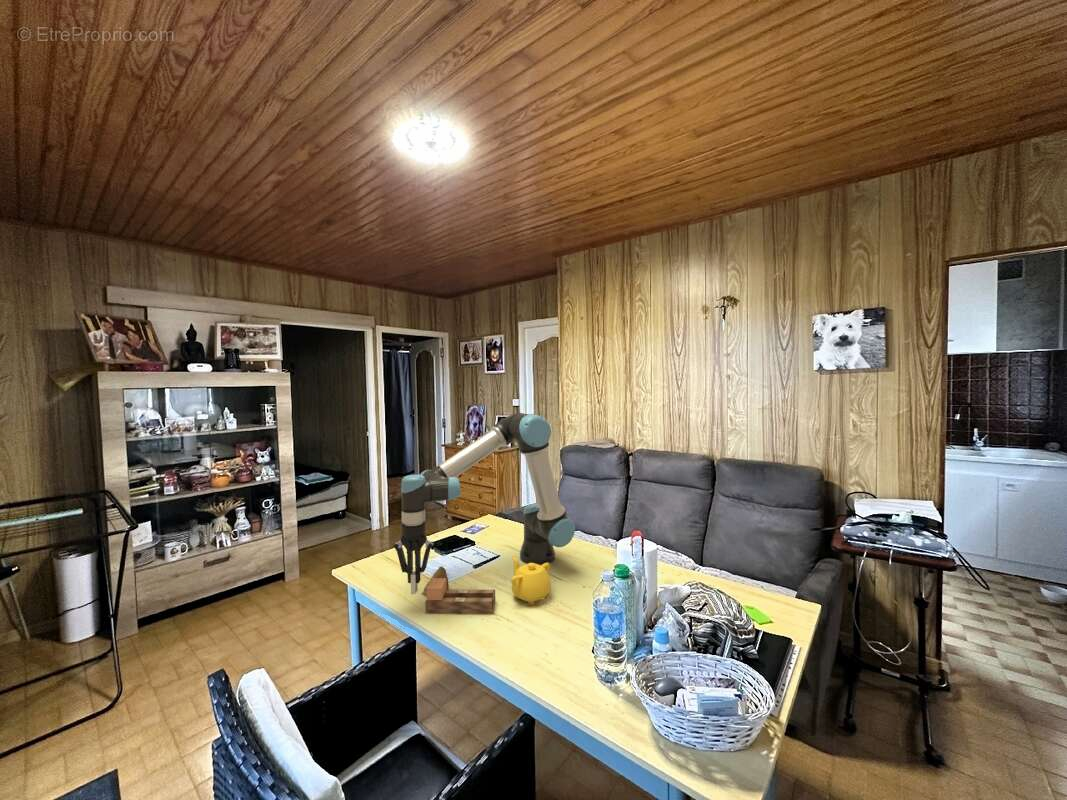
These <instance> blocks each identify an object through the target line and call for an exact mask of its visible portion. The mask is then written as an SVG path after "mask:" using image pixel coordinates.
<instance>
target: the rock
mask: <svg viewBox="0 0 1067 800" xmlns="http://www.w3.org/2000/svg"><path fill="white" fill-rule="evenodd" d="M432 578H446V590H450V585H449V577H448V573H447V569H446V568H445V567H443V566H442V565H441V566H439V567H438V568H437V570H436V571H435V572H434V573H433V574H432V576H431V578H430V580H428V582H427V584H426V585H425V586H424V588H423V591H422V593H421V595H424V596H426V597H427V586H428V584H429V583H430V581H431V579H432Z"/></svg>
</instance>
